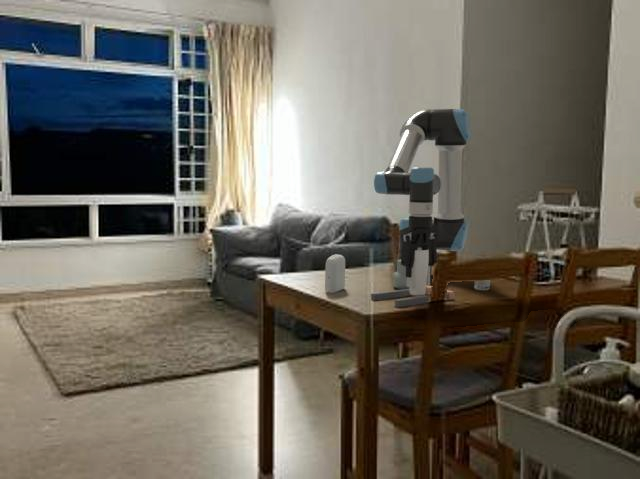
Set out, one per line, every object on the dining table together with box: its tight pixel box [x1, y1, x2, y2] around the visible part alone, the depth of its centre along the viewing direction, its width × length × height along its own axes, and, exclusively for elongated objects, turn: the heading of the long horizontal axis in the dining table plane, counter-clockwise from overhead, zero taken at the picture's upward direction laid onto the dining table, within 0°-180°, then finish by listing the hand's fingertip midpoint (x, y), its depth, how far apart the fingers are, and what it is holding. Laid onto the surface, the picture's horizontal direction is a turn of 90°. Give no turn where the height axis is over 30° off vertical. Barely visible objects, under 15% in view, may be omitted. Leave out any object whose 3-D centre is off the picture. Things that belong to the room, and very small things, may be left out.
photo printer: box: [324, 254, 346, 294], centre depth 223 cm, size 10×4×12 cm, turn 156°
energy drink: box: [473, 254, 492, 292], centre depth 230 cm, size 5×5×12 cm
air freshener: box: [391, 259, 409, 290], centre depth 229 cm, size 11×8×10 cm
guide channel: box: [370, 285, 455, 308], centre depth 211 cm, size 24×13×2 cm, turn 125°
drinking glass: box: [409, 248, 429, 297], centre depth 212 cm, size 7×7×15 cm
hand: (418, 286), depth 212 cm, fingers closed on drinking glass, 6 cm apart
